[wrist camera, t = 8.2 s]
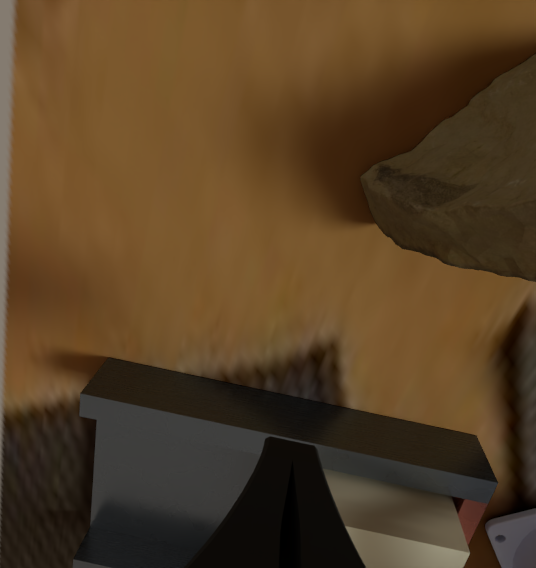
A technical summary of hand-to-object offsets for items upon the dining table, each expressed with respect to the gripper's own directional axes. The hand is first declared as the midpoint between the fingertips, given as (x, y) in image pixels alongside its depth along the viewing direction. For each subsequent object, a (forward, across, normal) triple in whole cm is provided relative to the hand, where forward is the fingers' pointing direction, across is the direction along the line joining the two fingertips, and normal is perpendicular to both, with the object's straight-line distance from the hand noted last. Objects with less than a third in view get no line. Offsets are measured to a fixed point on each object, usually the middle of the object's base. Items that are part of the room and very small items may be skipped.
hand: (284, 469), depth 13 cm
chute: (+9, -1, +10) cm, 14 cm away
